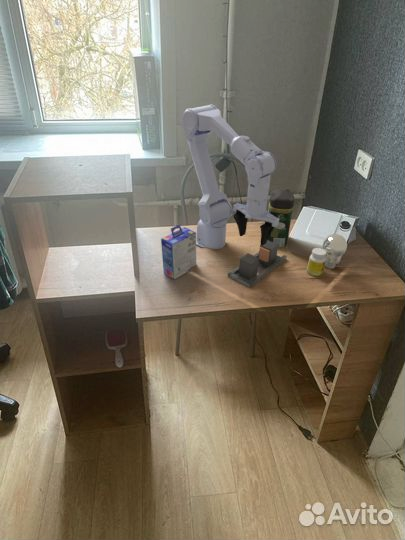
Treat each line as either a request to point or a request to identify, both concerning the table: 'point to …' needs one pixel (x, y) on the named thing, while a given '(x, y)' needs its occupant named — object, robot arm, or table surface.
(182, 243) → the ink cartridge box
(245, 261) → the grey square block
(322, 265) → the supplement bottle
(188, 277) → the table surface
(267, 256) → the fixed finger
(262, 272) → the rail
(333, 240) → the light bulb
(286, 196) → the coffee jar
